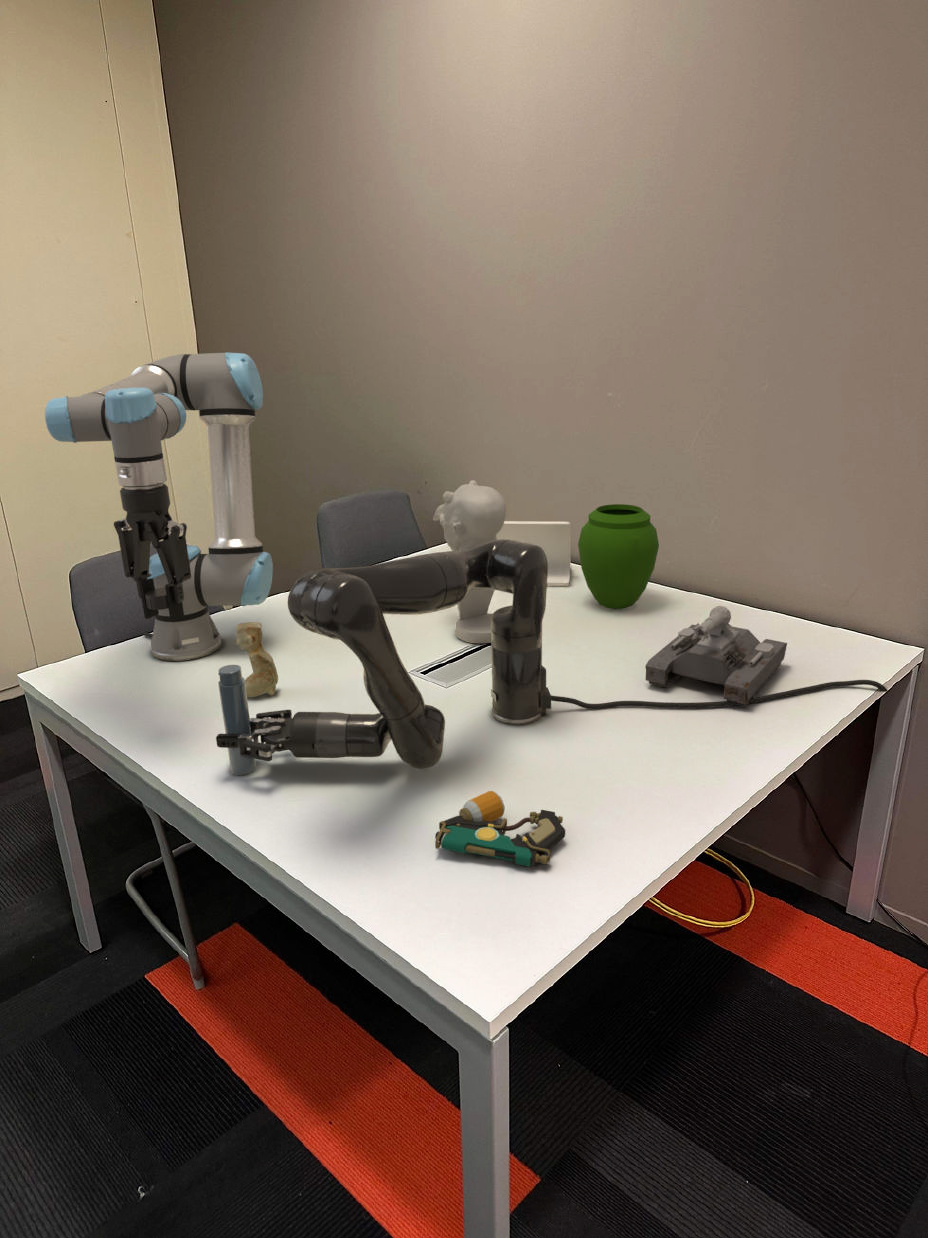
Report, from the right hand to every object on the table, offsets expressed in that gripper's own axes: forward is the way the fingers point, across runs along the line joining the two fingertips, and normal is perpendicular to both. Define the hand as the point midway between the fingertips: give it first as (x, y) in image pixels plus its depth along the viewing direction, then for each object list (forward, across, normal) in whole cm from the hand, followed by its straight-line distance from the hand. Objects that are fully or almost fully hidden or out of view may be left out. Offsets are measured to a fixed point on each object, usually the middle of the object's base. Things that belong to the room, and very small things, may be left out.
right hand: (222, 733), depth 142 cm
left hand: (+13, -12, -16) cm, 24 cm away
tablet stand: (-49, -106, +7) cm, 117 cm away
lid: (+13, -12, -20) cm, 27 cm away
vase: (-72, -82, +7) cm, 109 cm away
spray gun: (-47, +19, +7) cm, 51 cm away
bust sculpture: (-37, -64, +7) cm, 74 cm away
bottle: (-3, 0, +7) cm, 7 cm away
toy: (-88, -39, +7) cm, 97 cm away
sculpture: (+3, -29, +7) cm, 30 cm away
